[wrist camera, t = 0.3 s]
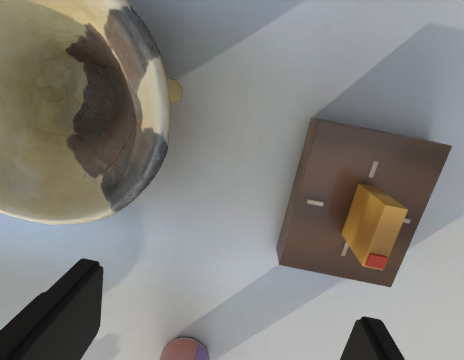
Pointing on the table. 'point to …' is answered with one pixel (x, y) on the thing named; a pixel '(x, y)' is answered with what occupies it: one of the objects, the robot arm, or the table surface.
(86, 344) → the robot arm
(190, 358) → the beverage can
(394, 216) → the thumbturn
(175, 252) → the table surface
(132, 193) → the bowl
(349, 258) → the plate
